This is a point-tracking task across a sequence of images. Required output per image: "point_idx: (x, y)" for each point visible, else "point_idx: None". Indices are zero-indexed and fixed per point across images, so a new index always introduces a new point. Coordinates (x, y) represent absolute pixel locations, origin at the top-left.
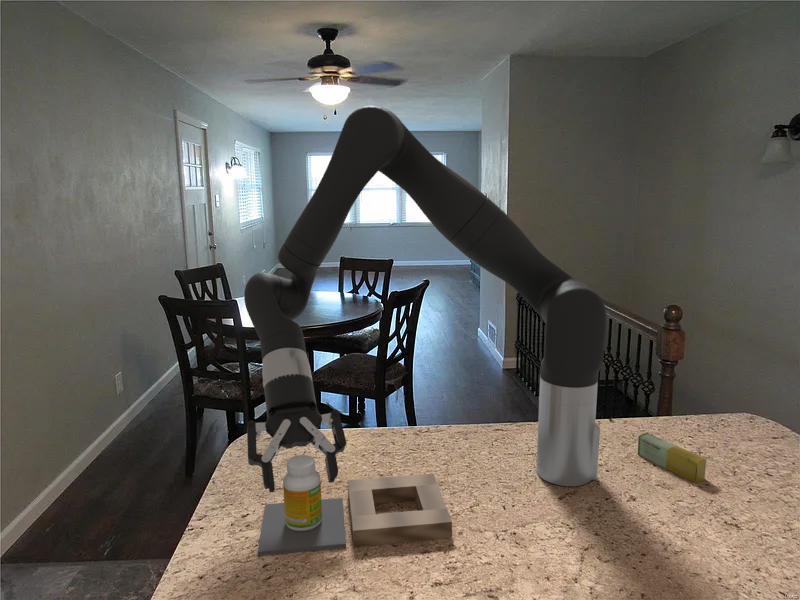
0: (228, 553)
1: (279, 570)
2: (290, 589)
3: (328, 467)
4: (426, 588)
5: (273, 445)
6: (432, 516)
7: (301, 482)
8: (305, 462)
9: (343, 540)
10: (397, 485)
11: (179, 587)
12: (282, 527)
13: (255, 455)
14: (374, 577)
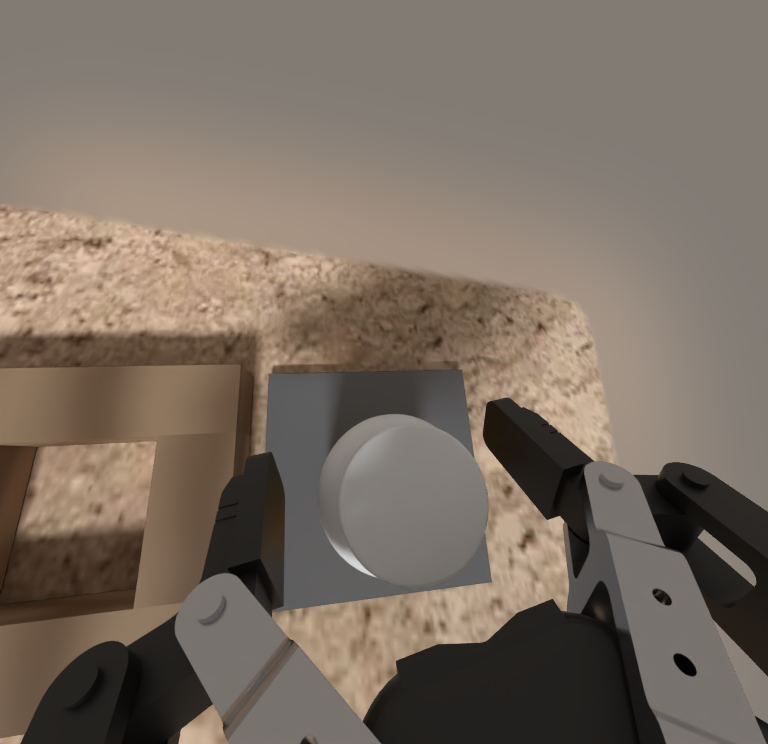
0: (517, 387)
1: (408, 324)
2: (382, 274)
3: (267, 491)
4: (124, 235)
5: (639, 540)
6: None
7: (393, 424)
8: (389, 479)
9: (274, 385)
10: (9, 641)
11: (564, 307)
12: None
13: (680, 483)
14: (222, 278)
